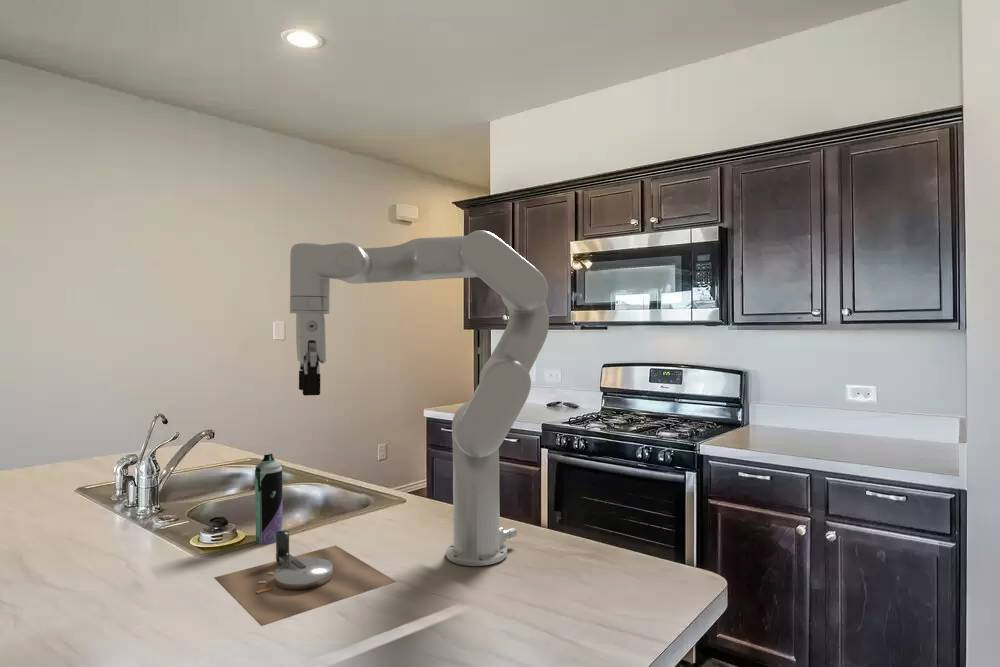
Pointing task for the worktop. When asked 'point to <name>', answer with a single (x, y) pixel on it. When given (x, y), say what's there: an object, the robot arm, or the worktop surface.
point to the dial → (299, 567)
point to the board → (277, 603)
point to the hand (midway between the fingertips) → (309, 392)
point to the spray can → (268, 500)
